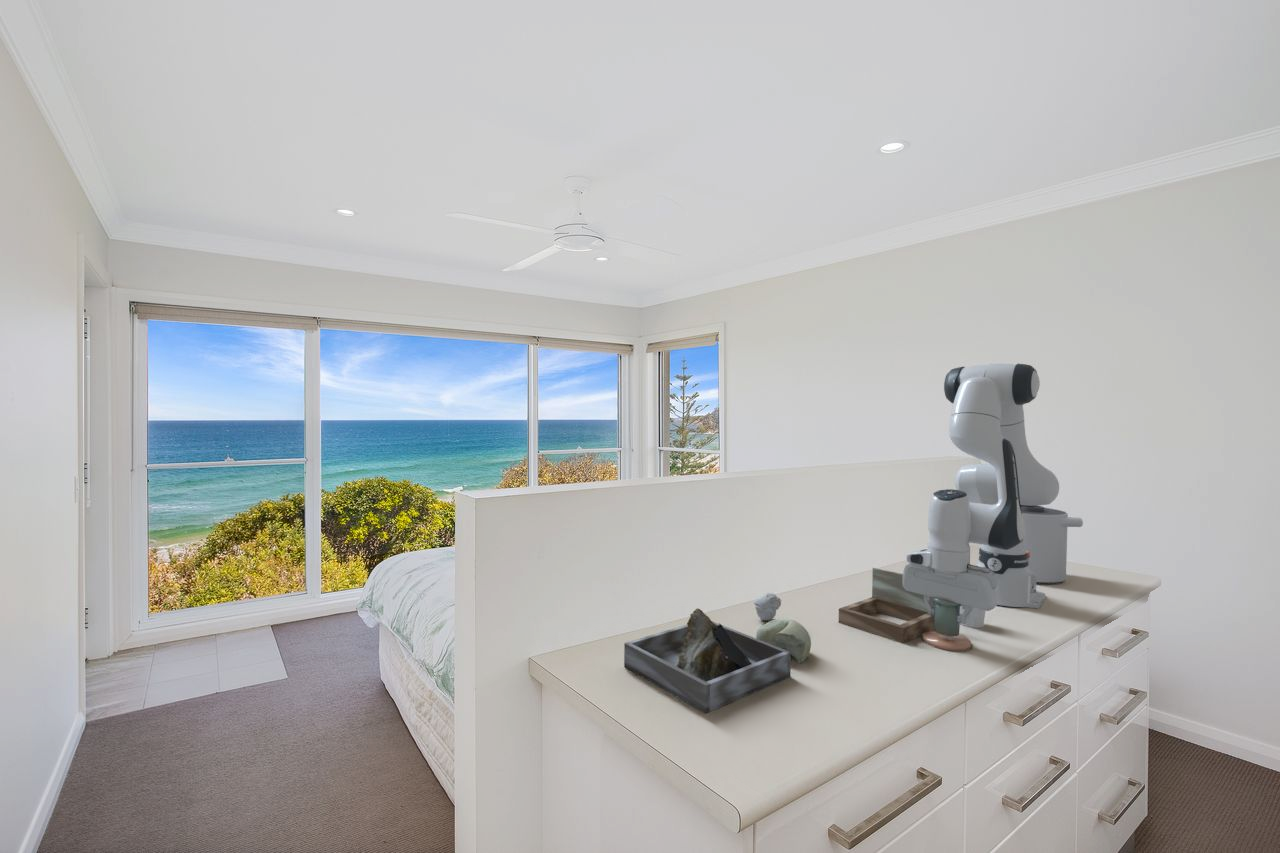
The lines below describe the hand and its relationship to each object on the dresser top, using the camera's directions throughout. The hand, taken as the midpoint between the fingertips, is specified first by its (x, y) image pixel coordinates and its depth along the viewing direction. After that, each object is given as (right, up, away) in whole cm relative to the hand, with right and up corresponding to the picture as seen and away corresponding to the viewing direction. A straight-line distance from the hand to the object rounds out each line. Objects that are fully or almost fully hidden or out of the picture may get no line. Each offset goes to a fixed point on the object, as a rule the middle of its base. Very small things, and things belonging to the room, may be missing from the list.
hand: (947, 618), depth 138 cm
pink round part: (0, -6, 0) cm, 6 cm away
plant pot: (0, -3, 0) cm, 3 cm away
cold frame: (-9, -5, +11) cm, 16 cm away
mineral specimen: (-56, -5, -19) cm, 60 cm away
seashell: (-39, -6, -7) cm, 40 cm away
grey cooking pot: (+58, -5, +57) cm, 82 cm away
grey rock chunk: (-39, -5, +14) cm, 42 cm away
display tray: (-58, -5, -17) cm, 61 cm away
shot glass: (+13, -6, +13) cm, 19 cm away
